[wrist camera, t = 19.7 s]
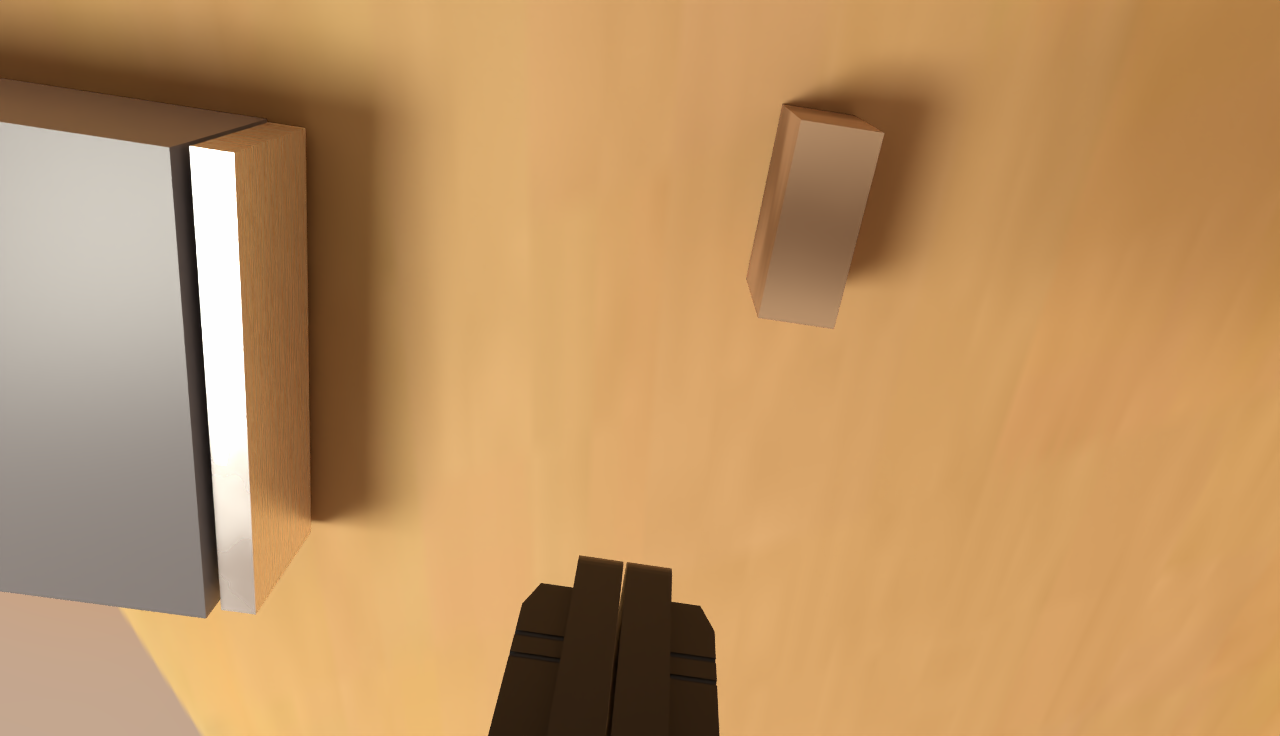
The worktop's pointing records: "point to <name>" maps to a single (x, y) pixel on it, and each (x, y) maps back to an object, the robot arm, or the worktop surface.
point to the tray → (255, 351)
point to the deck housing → (103, 352)
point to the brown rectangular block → (811, 214)
